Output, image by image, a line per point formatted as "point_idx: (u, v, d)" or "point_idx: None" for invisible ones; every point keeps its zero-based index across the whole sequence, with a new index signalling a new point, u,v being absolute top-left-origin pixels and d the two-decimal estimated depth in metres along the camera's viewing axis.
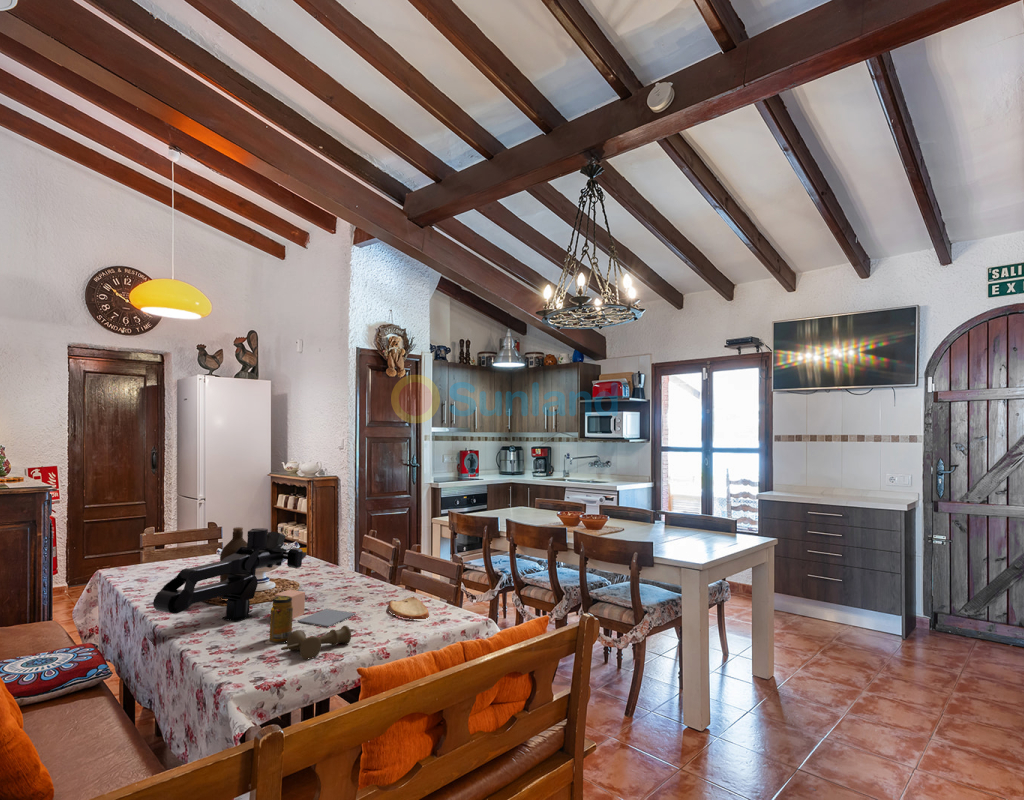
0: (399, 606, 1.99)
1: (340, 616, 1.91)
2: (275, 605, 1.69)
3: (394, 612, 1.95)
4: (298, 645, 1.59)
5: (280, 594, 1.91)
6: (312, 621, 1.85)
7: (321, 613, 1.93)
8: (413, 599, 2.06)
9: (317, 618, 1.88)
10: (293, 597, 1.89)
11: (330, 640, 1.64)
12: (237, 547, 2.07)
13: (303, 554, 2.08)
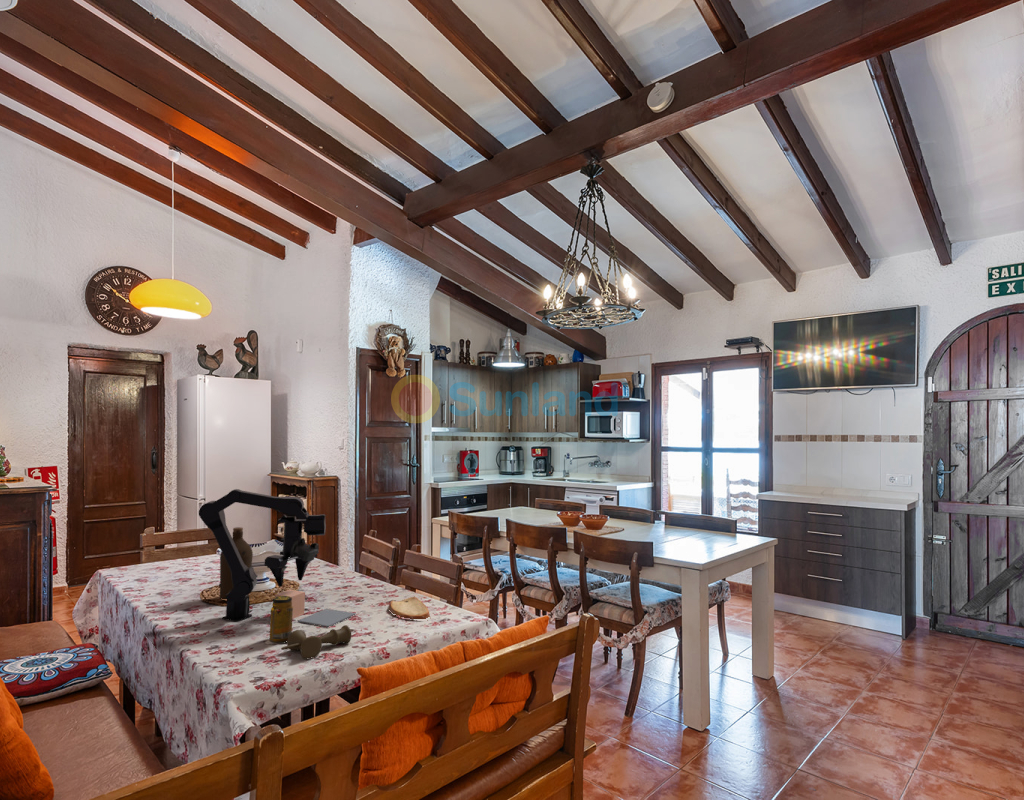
0: (400, 606, 1.99)
1: (340, 616, 1.91)
2: (275, 605, 1.69)
3: (395, 612, 1.95)
4: (298, 645, 1.59)
5: (280, 594, 1.91)
6: (312, 621, 1.85)
7: (321, 613, 1.93)
8: (414, 598, 2.06)
9: (317, 618, 1.88)
10: (293, 597, 1.89)
11: (330, 639, 1.65)
12: (237, 547, 2.07)
13: (279, 580, 1.88)
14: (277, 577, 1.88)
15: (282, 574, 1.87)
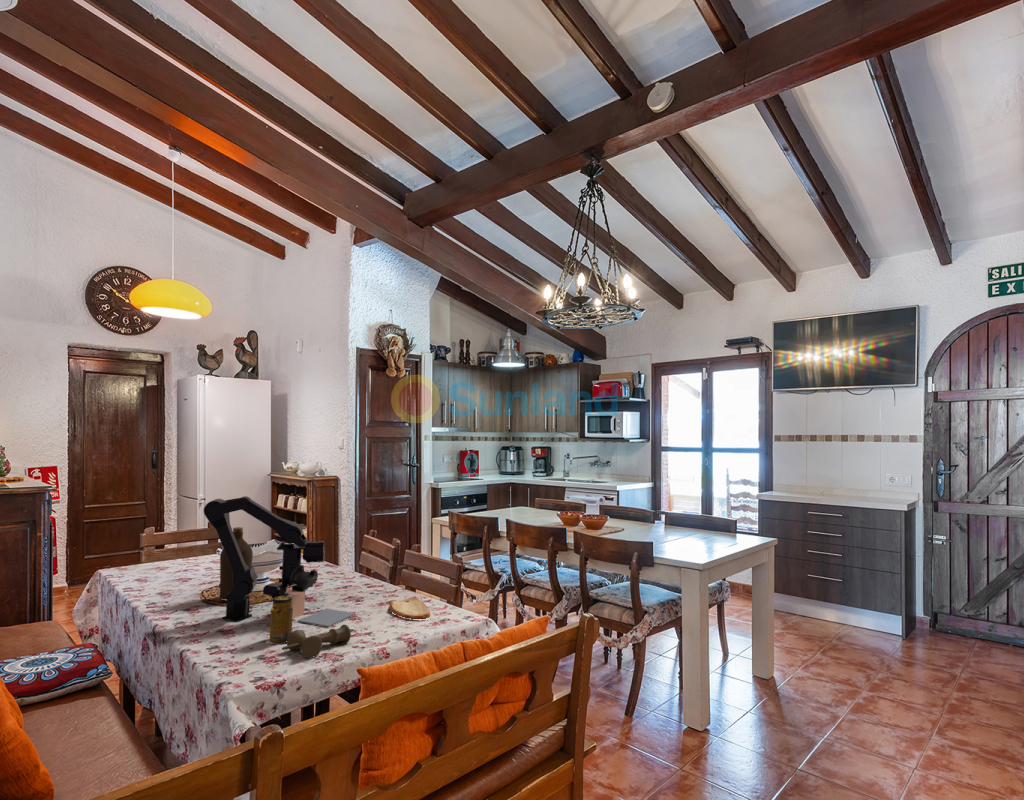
0: (400, 606, 1.99)
1: (340, 616, 1.91)
2: (275, 605, 1.69)
3: (395, 612, 1.95)
4: (299, 644, 1.59)
5: None
6: (312, 621, 1.85)
7: (321, 613, 1.93)
8: (415, 598, 2.06)
9: (317, 618, 1.88)
10: (293, 597, 1.89)
11: (330, 639, 1.65)
12: None
13: None
14: None
15: None
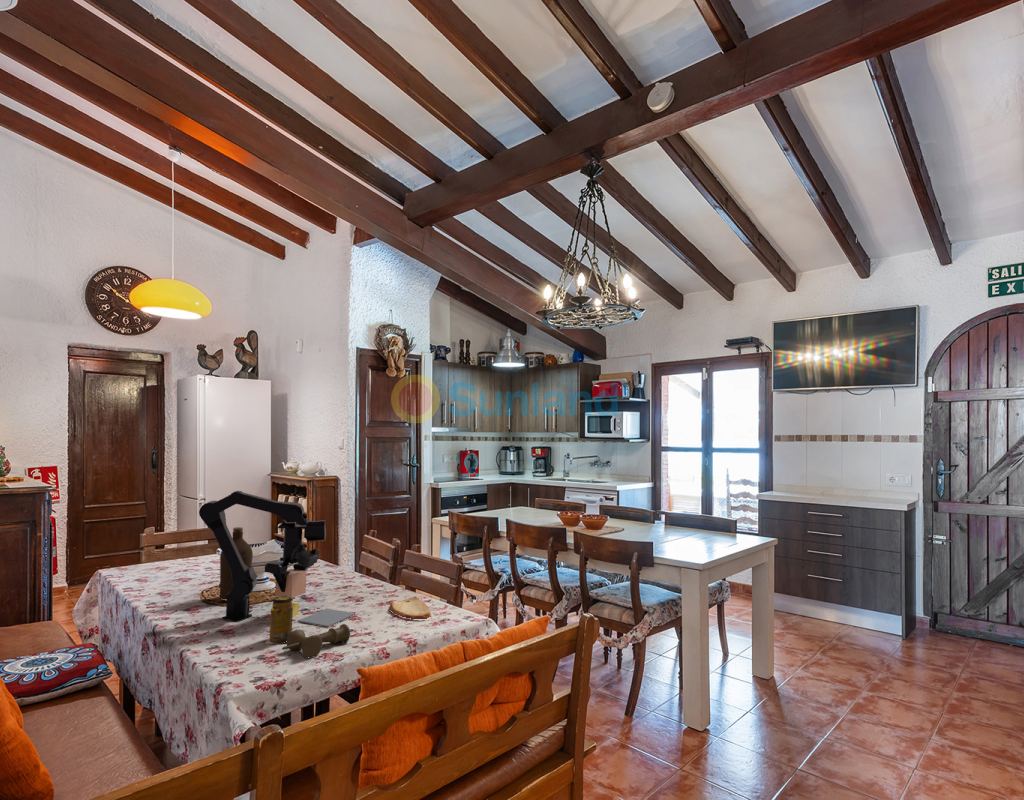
0: (401, 606, 1.99)
1: (340, 616, 1.91)
2: (275, 605, 1.69)
3: (396, 612, 1.95)
4: (299, 644, 1.59)
5: None
6: (312, 621, 1.85)
7: (321, 613, 1.93)
8: (415, 598, 2.06)
9: (317, 618, 1.88)
10: (294, 575, 1.90)
11: (329, 638, 1.65)
12: (237, 547, 2.07)
13: (282, 585, 1.89)
14: (280, 582, 1.89)
15: (285, 579, 1.88)
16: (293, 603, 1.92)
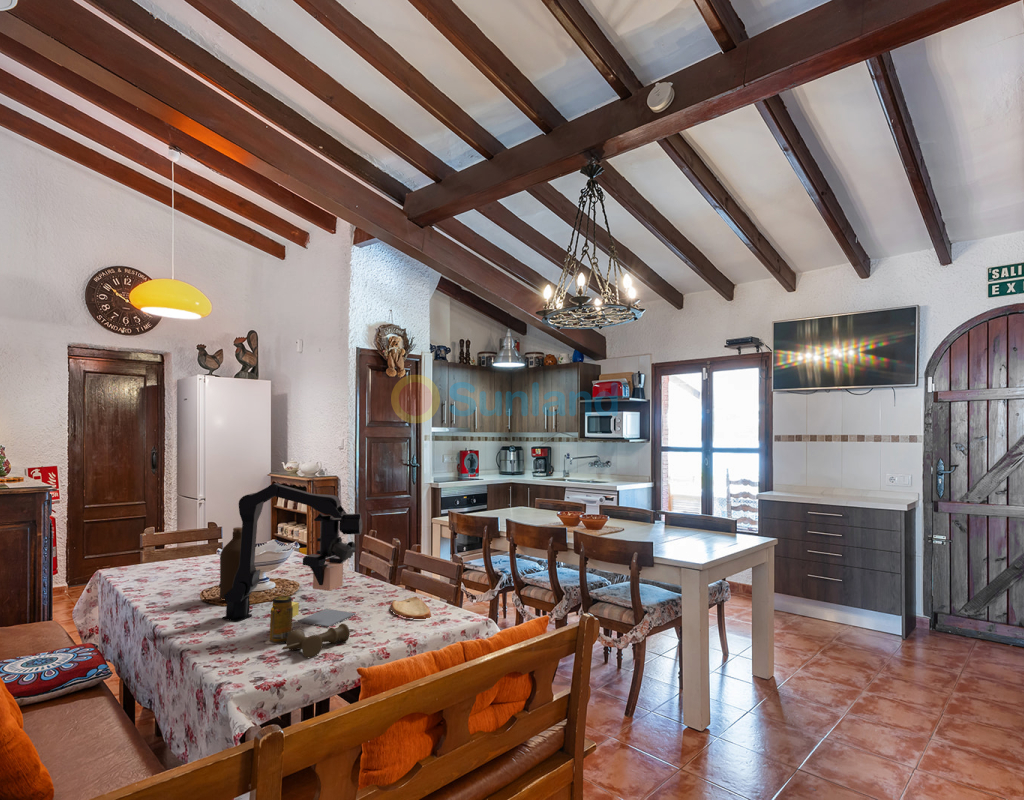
0: (401, 606, 1.99)
1: (340, 616, 1.91)
2: (275, 605, 1.69)
3: (396, 612, 1.95)
4: (299, 644, 1.59)
5: None
6: (312, 621, 1.85)
7: (321, 613, 1.93)
8: (416, 598, 2.06)
9: (317, 618, 1.88)
10: (332, 568, 1.88)
11: (329, 638, 1.66)
12: (237, 547, 2.07)
13: (319, 578, 1.87)
14: (317, 575, 1.87)
15: (323, 572, 1.87)
16: (293, 603, 1.92)
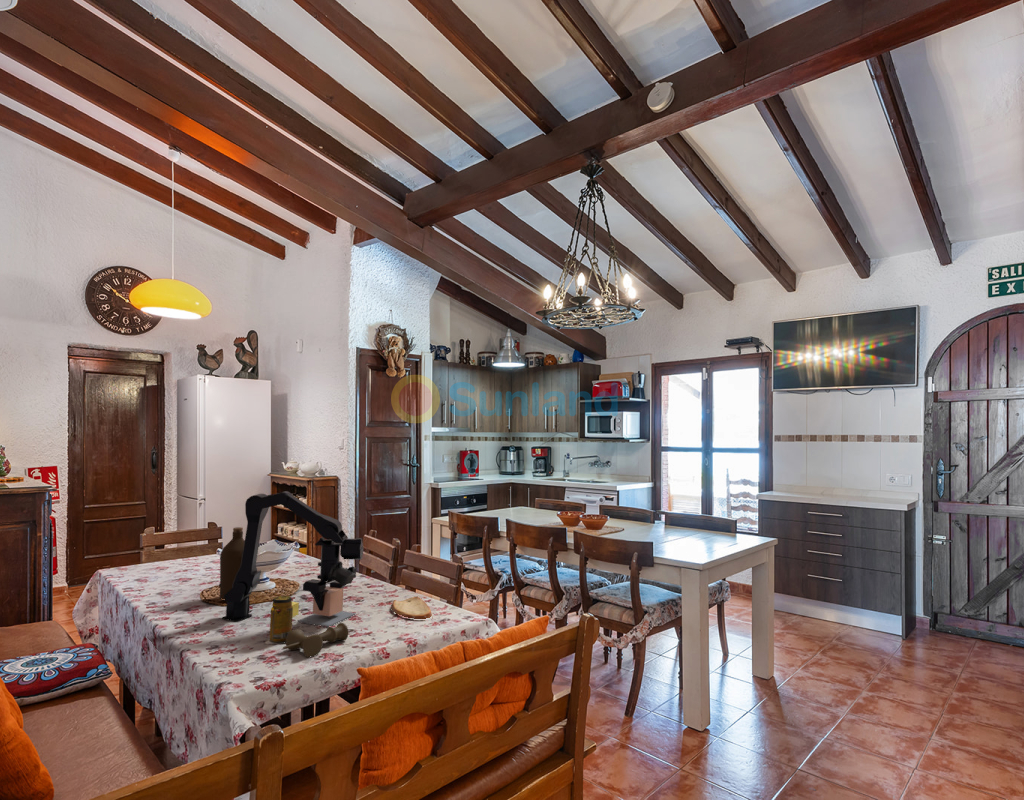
0: (402, 606, 1.99)
1: (340, 616, 1.91)
2: (275, 605, 1.69)
3: (397, 612, 1.95)
4: (299, 644, 1.60)
5: None
6: (312, 621, 1.85)
7: None
8: (417, 598, 2.06)
9: (317, 618, 1.88)
10: (332, 593, 1.87)
11: (328, 637, 1.66)
12: (237, 547, 2.07)
13: (320, 603, 1.86)
14: (318, 601, 1.86)
15: (323, 598, 1.86)
16: (293, 603, 1.92)
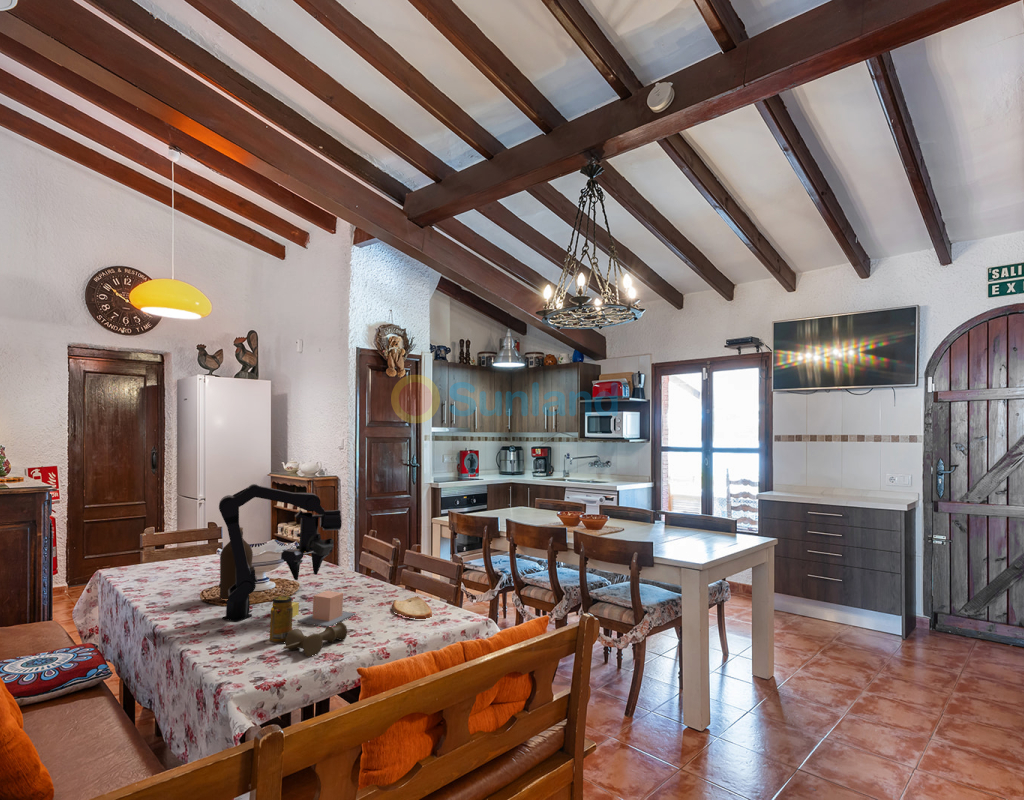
0: (403, 606, 2.00)
1: (340, 616, 1.91)
2: (275, 605, 1.69)
3: (397, 612, 1.95)
4: (299, 643, 1.60)
5: (319, 595, 1.89)
6: (312, 621, 1.85)
7: None
8: (417, 598, 2.06)
9: None
10: (332, 598, 1.87)
11: (328, 636, 1.67)
12: None
13: (295, 573, 1.93)
14: (293, 570, 1.93)
15: (298, 568, 1.93)
16: (293, 603, 1.92)
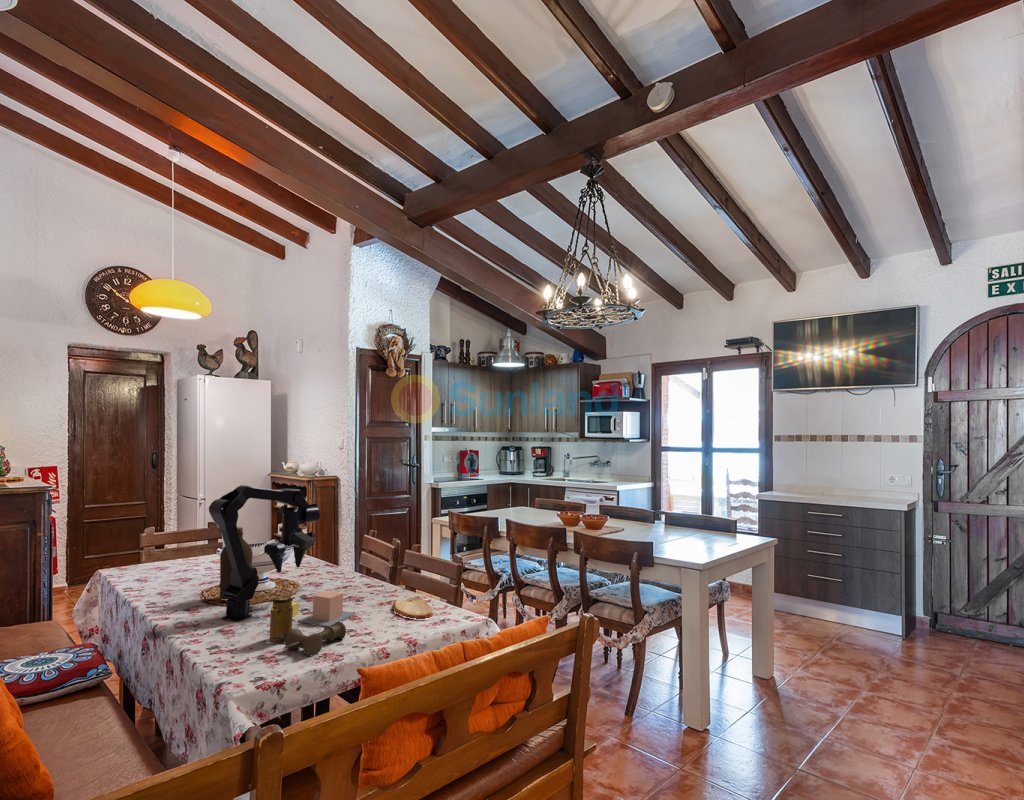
0: (403, 606, 2.00)
1: (340, 616, 1.91)
2: (275, 605, 1.69)
3: (398, 611, 1.95)
4: (299, 643, 1.60)
5: (319, 595, 1.89)
6: (312, 621, 1.85)
7: None
8: (418, 598, 2.06)
9: None
10: (332, 598, 1.87)
11: (327, 636, 1.67)
12: None
13: (278, 566, 1.99)
14: (276, 563, 1.99)
15: (281, 561, 1.99)
16: (293, 603, 1.92)
